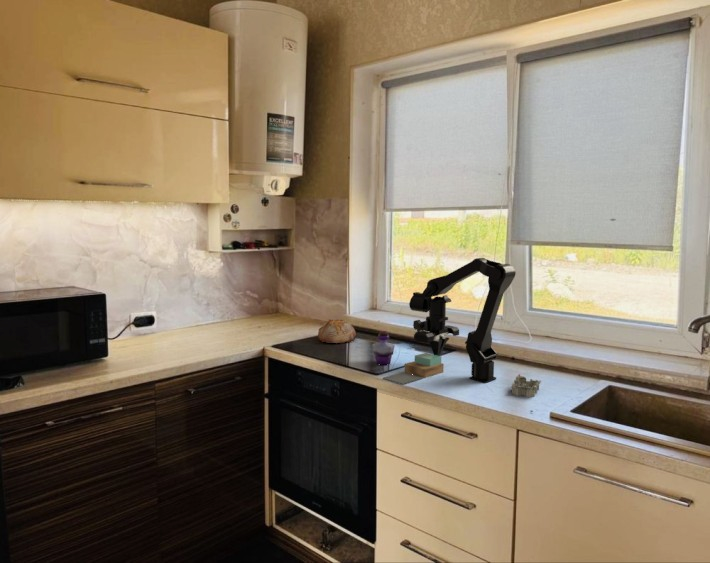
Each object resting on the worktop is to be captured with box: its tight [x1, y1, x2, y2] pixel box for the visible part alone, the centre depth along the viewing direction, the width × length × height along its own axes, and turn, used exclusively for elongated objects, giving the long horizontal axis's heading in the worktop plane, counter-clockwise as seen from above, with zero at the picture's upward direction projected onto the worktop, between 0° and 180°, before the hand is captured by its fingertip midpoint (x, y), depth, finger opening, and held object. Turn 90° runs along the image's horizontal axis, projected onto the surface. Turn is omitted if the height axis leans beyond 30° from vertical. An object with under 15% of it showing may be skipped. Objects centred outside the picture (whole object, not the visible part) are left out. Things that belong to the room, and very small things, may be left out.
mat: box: [382, 371, 424, 386], centre depth 182 cm, size 9×10×1 cm
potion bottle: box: [372, 330, 395, 366], centre depth 200 cm, size 9×9×12 cm
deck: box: [404, 360, 444, 379], centre depth 190 cm, size 9×10×3 cm
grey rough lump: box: [510, 373, 542, 398], centre depth 169 cm, size 11×8×4 cm
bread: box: [317, 319, 357, 345], centre depth 239 cm, size 16×20×10 cm
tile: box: [414, 352, 442, 366], centre depth 191 cm, size 7×6×2 cm
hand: (436, 357), depth 194 cm, fingers closed
